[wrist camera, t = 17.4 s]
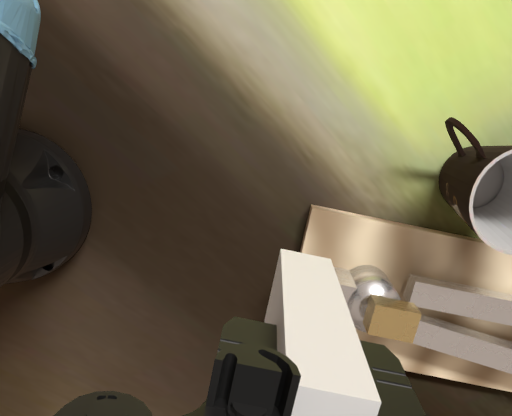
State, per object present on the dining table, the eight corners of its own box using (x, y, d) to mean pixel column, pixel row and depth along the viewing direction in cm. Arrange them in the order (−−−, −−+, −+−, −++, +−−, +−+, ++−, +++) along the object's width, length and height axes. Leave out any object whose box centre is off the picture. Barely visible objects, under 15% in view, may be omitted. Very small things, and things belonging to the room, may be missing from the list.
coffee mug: (523, 209, 46) (591, 240, 36) (435, 231, 46) (478, 267, 37) (506, 91, 43) (573, 90, 33) (413, 116, 44) (453, 122, 34)
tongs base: (291, 297, 47) (292, 317, 43) (302, 248, 46) (305, 264, 41) (583, 356, 47) (615, 383, 43) (603, 310, 46) (637, 332, 42)
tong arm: (389, 327, 46) (396, 340, 44) (398, 306, 46) (405, 318, 43) (576, 385, 47) (592, 401, 45) (587, 365, 47) (604, 380, 44)
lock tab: (362, 322, 42) (367, 334, 40) (370, 294, 42) (375, 304, 39) (405, 330, 42) (412, 343, 40) (414, 303, 42) (421, 314, 39)
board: (279, 337, 50) (279, 345, 48) (310, 204, 46) (312, 208, 45) (560, 394, 50) (569, 403, 49) (613, 266, 47) (624, 272, 45)
